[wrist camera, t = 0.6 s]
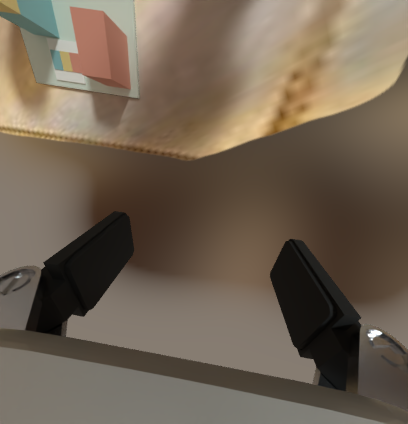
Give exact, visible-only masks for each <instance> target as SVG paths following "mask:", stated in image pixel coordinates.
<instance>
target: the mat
mask: <svg viewBox="0 0 408 424" xmlns="http://www.w3.org/2000/svg"><path fill="white" fill-rule="evenodd" d="M51 2H52V6H53V10H54V15H55V19H56V24H57V28H58V33H59V37H60V38H55V37H48V36H41V35H34V34H32V33H30V32H28V31H27V30H25V29H23V28H21V27H20V30H21V34H22V37H23V40H24V43H25V47H26V50H27V53H28V57H29V60H30V63H31V66H32V70H33V73H34V76H35V79H36V83H41V84H47V85H54V86H60V87H67V88H74V89H80V90H87V91H93V92H100V93H106V94H113V95H119V96H126V97H132V98H139V99H140V97H139V79H138V60H137V42H136V23H135V5H134V0H51ZM69 6H71V7H78V8H85V9H93V10H100V11H104V12H105V13H106V14H107V16H108V17H109V18H110V19H111V20H112V21H113V22H114V23H115V24H116V25H117V26H118V27H119V28H120V29H121V30H122V32H123V33H124V34H125V35H126V36H127V43H128V56H129V70H130V83H131V89H125V88H118V87H112V86H106V85H104V84H102V83H100V82H97V81H95V80H93V79H91V78H88V77H86V76H85V82H86V84H82V83H75V82H69V81H62V80H57V78H56V74H55V70H54V66H53V62H52V59H51V55H50V51H49V47H48V43H47V39H46V38H52V39H59V40H66V41H73V42H76V39H75V33H74V28H73V23H72V17H71V12H70V7H69Z"/></svg>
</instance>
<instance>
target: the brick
mask: <svg viewBox="0 0 408 424" xmlns="http://www.w3.org/2000/svg"><path fill="white" fill-rule="evenodd" d="M69 7H70V12H71V17H72V23H73V28H74V33H75V39H76V44H77V49H78V54H79V60H80V65H81V70H82V75H84V76H86V77H88V78H91V79H93V80H95V81H97V82H100V83H102V84H104V85H106V86H112V87H118V88H125V89H131V83H130V70H129V56H128V43H127V36H126V35H125V34H124V33H123V32H122V30H121V29H120V28H119V27H118V26H117V25H116V24H115V23H114V22H113V21H112V20H111V19H110V18H109V17H108V16H107V14H106V13H105V12H104V11H100V10H93V9H85V8H78V7H71V6H69Z"/></svg>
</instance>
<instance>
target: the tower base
mask: <svg viewBox="0 0 408 424" xmlns="http://www.w3.org/2000/svg"><path fill="white" fill-rule="evenodd" d="M0 16H1V17H3V18H5V19H6V20H8V21H10V22H12V23H14V24H16V25H17V26H19V27H21V28H23V29H25V30H27V31H28V32H30V33H32V34H34V35H41V36H48V37H55V38H60V37H59V33H58V28H57V24H56V19H55V15H54V10H53V6H52V2H51V0H0Z"/></svg>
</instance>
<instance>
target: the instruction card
mask: <svg viewBox="0 0 408 424" xmlns="http://www.w3.org/2000/svg"><path fill="white" fill-rule="evenodd" d="M46 39H47V43H48V47H49V51H50V55H51V59H52V62H53V66H54V70H55V74H56V78H57V80H62V81H69V82H75V83H82V84H86V82H85V76H84V75H82V70H81V65H80V60H79V54H78V49H77V44H76V42H73V41H66V40H59V39H52V38H46Z"/></svg>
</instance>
